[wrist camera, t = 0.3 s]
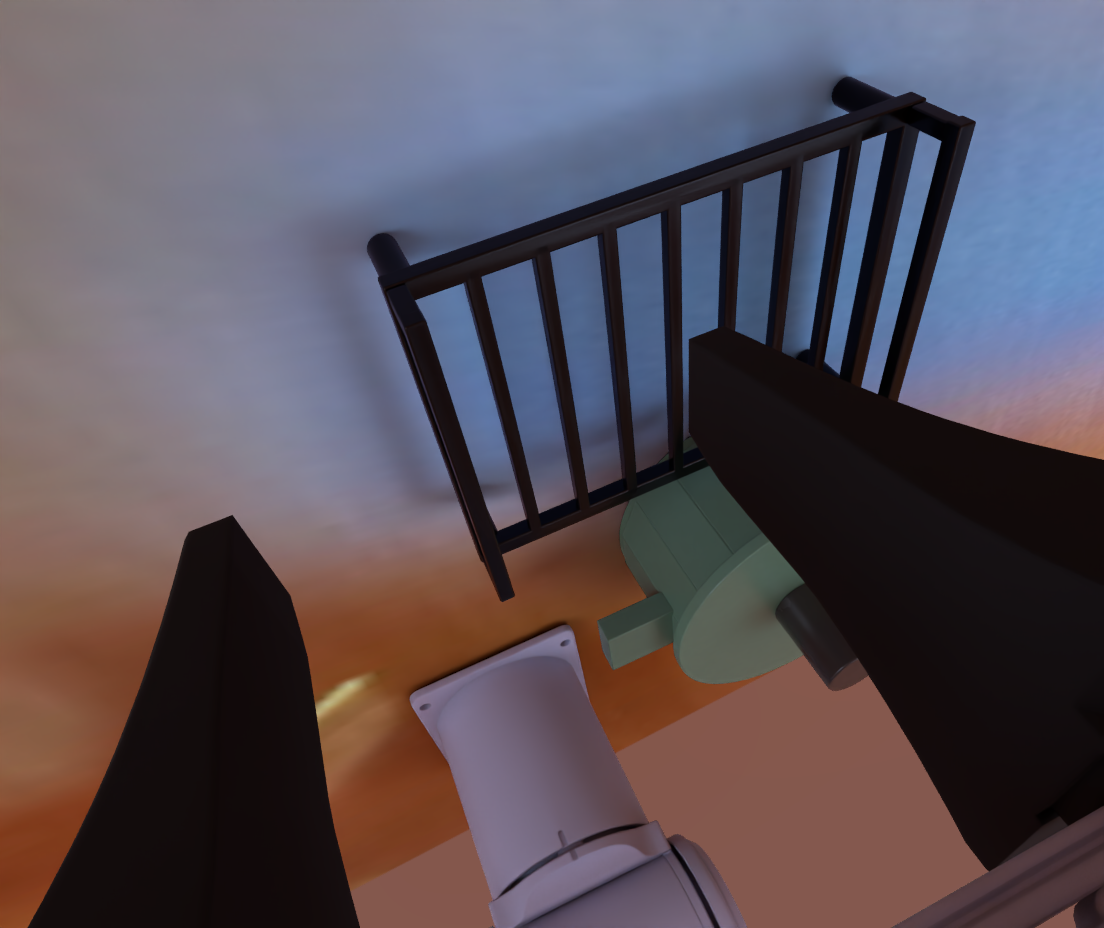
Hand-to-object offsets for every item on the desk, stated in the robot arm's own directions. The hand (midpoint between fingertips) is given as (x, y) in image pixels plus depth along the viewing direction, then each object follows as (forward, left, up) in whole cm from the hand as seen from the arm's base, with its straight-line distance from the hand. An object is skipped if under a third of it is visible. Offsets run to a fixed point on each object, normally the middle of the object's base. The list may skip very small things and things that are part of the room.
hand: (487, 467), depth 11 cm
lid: (-18, -11, -5) cm, 21 cm away
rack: (-6, -7, -10) cm, 14 cm away
